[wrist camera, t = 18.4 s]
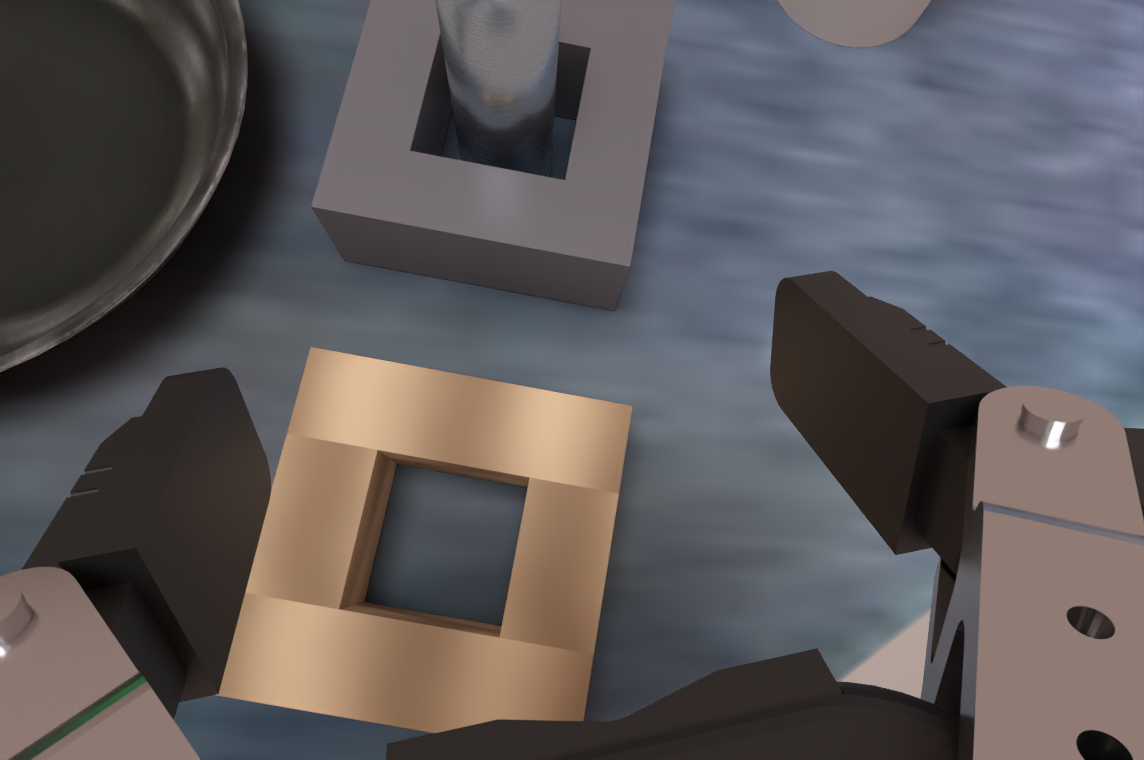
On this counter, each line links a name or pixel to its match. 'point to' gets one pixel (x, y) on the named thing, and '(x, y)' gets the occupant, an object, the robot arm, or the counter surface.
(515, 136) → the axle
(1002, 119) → the counter surface
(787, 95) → the counter surface
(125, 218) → the frying pan
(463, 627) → the square frame block
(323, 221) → the holder block
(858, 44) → the cup
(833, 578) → the counter surface
